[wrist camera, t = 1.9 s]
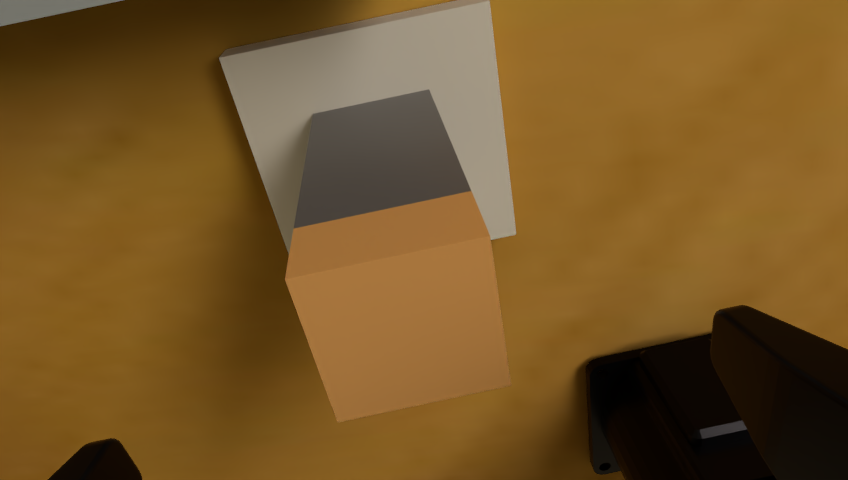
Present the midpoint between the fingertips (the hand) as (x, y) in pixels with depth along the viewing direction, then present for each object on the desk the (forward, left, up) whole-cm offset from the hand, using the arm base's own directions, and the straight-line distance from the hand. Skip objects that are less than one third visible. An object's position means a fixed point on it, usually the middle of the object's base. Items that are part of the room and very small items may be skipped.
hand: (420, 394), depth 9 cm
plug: (0, 0, -9) cm, 9 cm away
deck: (0, 0, -10) cm, 10 cm away
